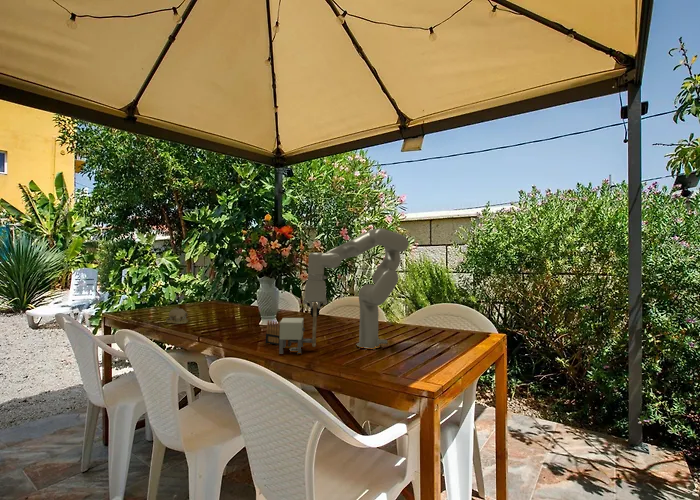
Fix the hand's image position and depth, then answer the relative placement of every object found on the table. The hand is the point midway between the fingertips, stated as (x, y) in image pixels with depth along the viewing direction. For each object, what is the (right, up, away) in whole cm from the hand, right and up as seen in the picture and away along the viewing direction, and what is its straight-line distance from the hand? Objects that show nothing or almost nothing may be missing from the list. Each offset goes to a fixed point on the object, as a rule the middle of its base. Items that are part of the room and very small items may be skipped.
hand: (314, 316), depth 181 cm
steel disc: (-10, -17, -1) cm, 19 cm away
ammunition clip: (-22, -17, +12) cm, 30 cm away
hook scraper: (-6, -14, -1) cm, 15 cm away
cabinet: (-11, -17, -1) cm, 20 cm away
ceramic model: (-98, -17, +70) cm, 121 cm away
